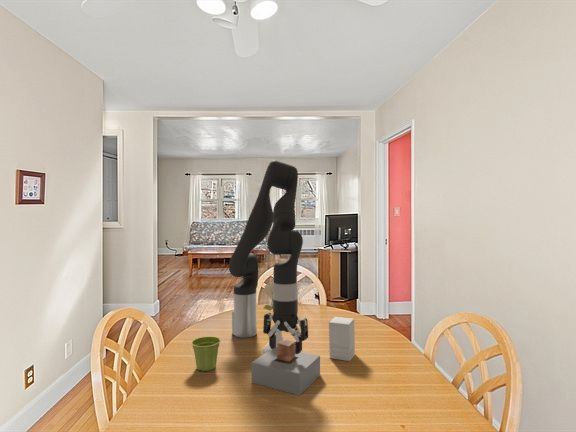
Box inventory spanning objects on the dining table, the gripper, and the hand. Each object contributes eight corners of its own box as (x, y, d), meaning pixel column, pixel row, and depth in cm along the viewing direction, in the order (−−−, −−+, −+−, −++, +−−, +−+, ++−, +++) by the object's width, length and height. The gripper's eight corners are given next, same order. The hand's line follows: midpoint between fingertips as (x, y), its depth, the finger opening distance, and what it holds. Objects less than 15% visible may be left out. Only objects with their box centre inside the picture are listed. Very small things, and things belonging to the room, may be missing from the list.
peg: (277, 377, 109) (276, 343, 109) (283, 371, 113) (283, 339, 113) (289, 379, 107) (289, 346, 107) (295, 374, 111) (295, 341, 111)
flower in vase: (301, 354, 129) (301, 283, 128) (279, 364, 121) (278, 289, 120) (275, 345, 138) (274, 279, 137) (252, 354, 129) (252, 283, 129)
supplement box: (355, 353, 129) (355, 318, 129) (349, 361, 122) (349, 324, 122) (335, 350, 132) (335, 316, 132) (328, 358, 125) (328, 321, 125)
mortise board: (251, 382, 108) (251, 362, 108) (275, 364, 120) (275, 346, 120) (299, 395, 100) (299, 373, 100) (320, 374, 113) (320, 355, 113)
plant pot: (189, 364, 121) (189, 338, 121) (217, 359, 125) (217, 334, 125) (193, 376, 113) (193, 348, 112) (224, 370, 116) (223, 343, 116)
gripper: (312, 297, 110) (312, 350, 110) (271, 292, 117) (271, 342, 117) (300, 303, 103) (300, 359, 103) (258, 297, 110) (258, 350, 110)
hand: (285, 350), depth 110 cm, fingers open, 8 cm apart
